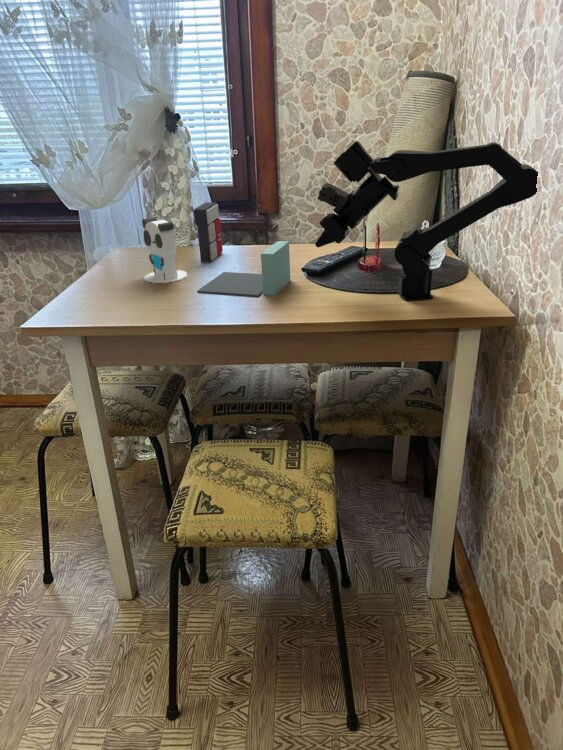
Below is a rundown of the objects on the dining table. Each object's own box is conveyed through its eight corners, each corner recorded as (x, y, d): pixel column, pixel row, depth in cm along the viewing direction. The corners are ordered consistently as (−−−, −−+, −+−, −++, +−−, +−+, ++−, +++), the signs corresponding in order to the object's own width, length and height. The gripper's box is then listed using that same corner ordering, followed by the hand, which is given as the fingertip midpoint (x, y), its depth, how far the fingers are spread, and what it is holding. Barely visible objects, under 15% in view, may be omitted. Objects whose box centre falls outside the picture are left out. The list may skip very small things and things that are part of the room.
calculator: (213, 262, 163) (207, 209, 156) (198, 262, 164) (193, 209, 157) (224, 252, 173) (219, 202, 166) (210, 252, 174) (205, 202, 167)
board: (290, 280, 145) (289, 241, 141) (274, 295, 135) (272, 254, 131) (279, 279, 146) (277, 241, 142) (263, 294, 136) (260, 253, 132)
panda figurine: (136, 276, 154) (127, 220, 147) (174, 267, 160) (167, 213, 153) (156, 286, 145) (147, 227, 139) (194, 277, 151) (188, 220, 145)
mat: (280, 277, 148) (279, 275, 148) (258, 297, 135) (258, 294, 134) (223, 273, 153) (223, 271, 153) (197, 292, 139) (197, 290, 139)
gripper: (349, 165, 131) (304, 212, 140) (329, 177, 116) (280, 229, 124) (381, 201, 133) (335, 245, 141) (366, 217, 117) (314, 266, 125)
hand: (316, 245), depth 133 cm, fingers closed
